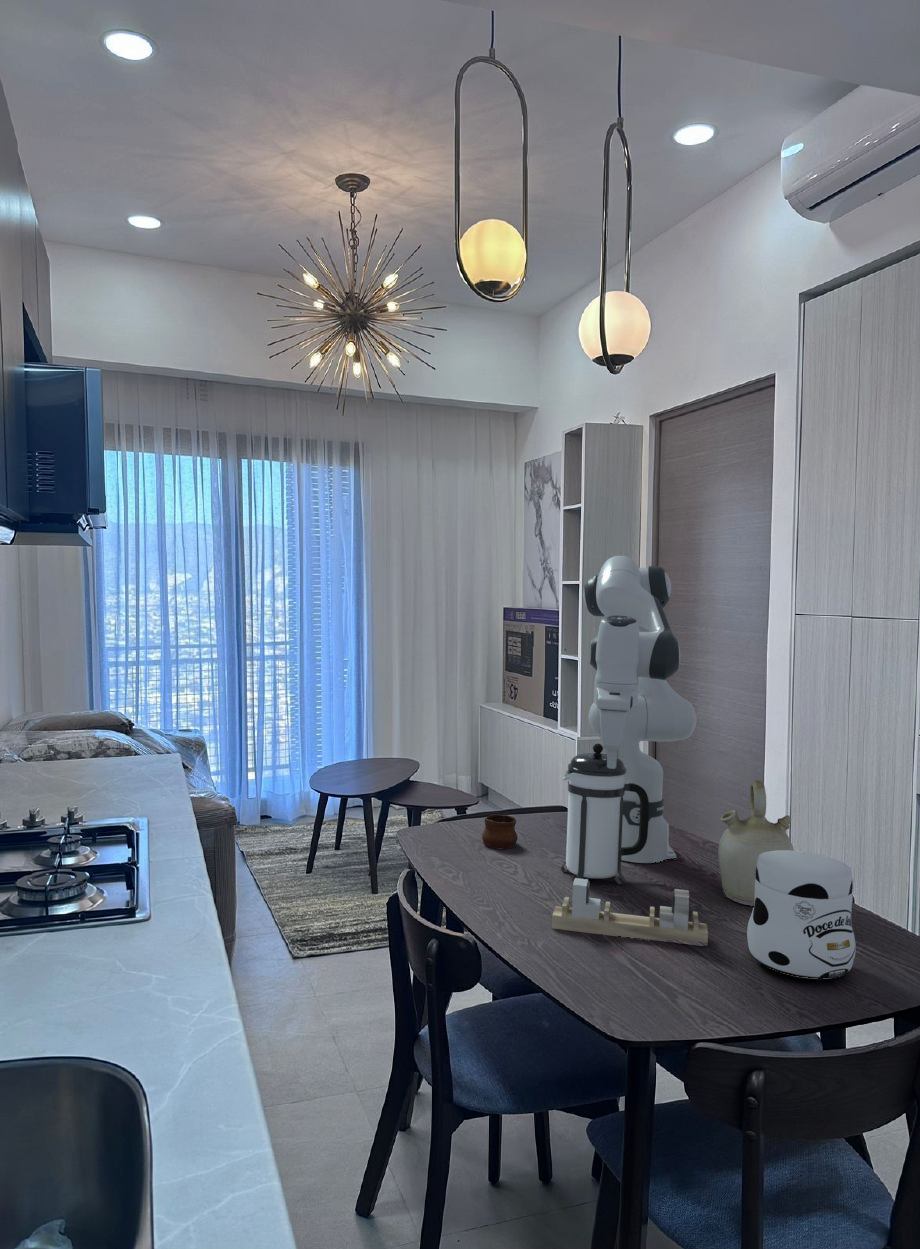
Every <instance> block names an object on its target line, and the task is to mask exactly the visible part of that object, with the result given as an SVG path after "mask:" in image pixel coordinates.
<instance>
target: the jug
mask: <svg viewBox="0 0 920 1249" xmlns="http://www.w3.org/2000/svg"><path fill="white" fill-rule="evenodd" d="M766 791H767V790H766V787H765V784H764V782H763V781H761V780H753V781H752V782H751V785H750V790H749V794H750V795H749V796H750V797H749V798H750V799H749V802H750V803H749V804H750V812H751V814H750V816H749V817H747V818H746V819H739V815H738V811H737V810H736V809H731V810H728V811H727V812H725V813H724V814H723V815H721V817H720V821H721V822H723V823H725V824H726V825H727V826H728V827H726V828H725V830H724V831H723V833H722V835H721V837H720V840H719V843H718V850H717V852H718V854H717V855H718V856H717V857H718V865H719V872H720V879H721V885H722V889H723V893H724V892H725V894H727V895H729V896H730V897H733V898H736V899H739V900H742V901H748V902H754V900H755V879H756V867H757V861H758V857H759V855H760V854H762V853H764V852H769V851H776V850H790V851H795V849H794V845H793V842H792V840H791V839H790V837H789V835H788V833H787V830H789V829H791V826H790V825H791V821H792V818H791V816H790V815H789V814H788V815H785V816H783V817H781V818H777V822H775V823H774V822H771V821H769V820H768V819H767V817H766V813H767V793H766Z"/></svg>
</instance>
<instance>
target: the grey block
mask: <svg viewBox="0 0 920 1249" xmlns="http://www.w3.org/2000/svg"><path fill="white" fill-rule="evenodd" d="M590 889H591V881H589V878H587V879H579V878H577V877H575V878H574V879H573V884H572V899H571V900H572V902H571V908H572V917H580V918H589V919H597V920H599V915H600V911H601V900H602V899H601V898H595V897H594V898H592V897H590V895H591V894H590V892H591V891H590Z"/></svg>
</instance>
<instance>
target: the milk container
mask: <svg viewBox="0 0 920 1249" xmlns="http://www.w3.org/2000/svg"><path fill="white" fill-rule="evenodd" d="M853 883H854V880H853V872H852V867H851V866H849V865H848V864H847V863H845V862H843V861H841V860H839V859H836V858H834V857H830V856H827V855H824V854H818V853H813V852H809V851H808V852H807V851H801V850H800V851H797V850H794V851H790V850H776V851H769V852H764V853H762V854H760V855H759V857H758V861H757V867H756V879H755V900H754V907H753V908H752V912H751V914H750V917H749V920H748V923H747V927H746V928H747V930H746V931H747V932H746V936H747V938H746V939H747V944H748V949H749V952H750V954H751V956H752V957H753V958H754V959H755V960H756V961H757V963H759V962H760V963H759V964H761V965H762V964H763V966H764V965H765V966H766V967H765V966H764V967H765V968H767V967H768V968H771V969H774V970H776V971H778V972H782V973H785V974H789V975H793V976H799V977H808V978H818V979H823V978H834V979H836V978H835V977H839V976H842V977H844V976H845V975H847V974H848V973H849V972H850V971H851V969H852V968H853V964H854V961H855V957H856V950H857V946H856V945H857V944H856V939H855V934H854V930H853V924H852V909H853V898H854V897H853V887H854V884H853ZM768 968H767V969H768ZM771 969H770V970H771ZM776 971H775V972H776ZM778 972H777V973H778ZM839 978H840V977H839Z"/></svg>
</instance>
